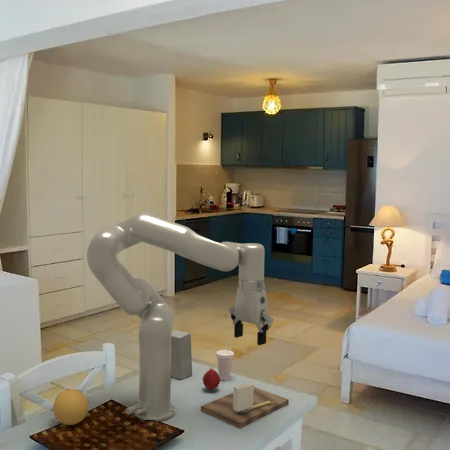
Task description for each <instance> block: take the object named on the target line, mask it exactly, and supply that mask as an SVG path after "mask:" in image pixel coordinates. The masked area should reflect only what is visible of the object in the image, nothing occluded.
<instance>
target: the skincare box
mask: <svg viewBox="0 0 450 450" xmlns="http://www.w3.org/2000/svg"><path fill="white" fill-rule="evenodd" d="M192 361H193V358H192V333H191V332H187V331H182V330H181V331H180V330H177V329H174V330H173V329H172V333H171V378H174V379H178V380H183V379H185V378H187V377H190V376H193V363H192Z"/></svg>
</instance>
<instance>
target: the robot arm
mask: <svg viewBox="0 0 450 450" xmlns="http://www.w3.org/2000/svg"><path fill="white" fill-rule="evenodd" d="M140 243H144V244H147V245H151V246H153V247H156V248H158V249H162V250H165V251H169V252H171V253H174V254H175V255H179V256H180V257H183V258H186V259H188V260H190V261H193V262H195V263H197V264H200V265H203V266H206V267H209V268H212V269H215V270H218V271H221V272H230V271H232V270H234V269H236V267H238V287H237V289H236V294H235V302H234V303H235V304H234V305H233V306H232V307H231V306H230V308H228V310H229V313H230V317H231V320H232V324H233V326H234V327H233V330H234V332H233V335H234V337H233V338H237V339H238V338H241V337H243V336H244V324H243V322H244V323H248V324H251V325H255V326H256V328H257V330H258V331H257V337H256V338H257V339H256V340H257V341H256V342H257V344H256V345H257V346H263V345H265V344H267V332H268V331H269V329H271V327H272V324H273V322H274V318H273V317H272V316H271V315H269V307H268V297H267V292H266V290H265V288H266V284H265V282H264V281H265V280H264V279H265V253H266V252H265V247H264V245H262V244H261V243H257V242H256V243H255V242H253V243H252V242H251V243H249V242H248V243H239V242H232V241H222V242H217V241H214V240H212V239H209V238H206V237H204V236H202V235H200V234H198V233H196V232H195V231H194V230H192V229H191V228H190V227H187V226H185V225H182V224H180V223H177V222H173V221H170V220H167V219H165V218H162V217H159V216H158V215H156V213H154V212H152V211H149V210H148V211H147V210H146V211H140V212H139V213H137V214H135V215H133V216H131V217H129V218H127V219H125V220H124V219H123V220H122V221H120V222H117V223H114V224H113V225H112V224H111V225H110V226H107V227H106V228H103V229H101V230H99V231H98V232H96V234H95V235H93V237H92V239H91V240H90V241H89V244H88V247H87V252H86V261H87V265H88V267H89V269H90V271H91V273H92V274H93V276H94V277H95V278H96V280H97V281H98V282H99V283H100V285H102V287H103V288H104V290H105V291H106V292H107V293H108V295H110V297H111V298H112V299H113V300H114V302H115V303H116V304H117V305H118V306H119V308H120V309H121V310H122V311H123V312H124V313H125V314H127V315H130V316H137V317H139V319H140V323H139V326H138V327H139V328H138V343H139V366H138V367H139V370H138V371H139V373H138V374H139V381H138V382H139V383H138V385H139V387H138V399H136V400H135V404H134V405H132V406H129V407H126V408H125V413H126V414H127V415H134V414H135V415H134V416H135V417H136V416H137V417H138V419H139V418H140V419H139V420H141V419H143V420H142V421H145V420H155V421H154V422H161V421H165V420H168V419H170V418H172V417H173V416H175V413H176V407H175V406H174V404H172V403H171V390H172V389H171V385H172V382H171V381H172V377H171V333H172V331H173V327H174V323H175V322H174V321H175V316H174V312H173V311H172V309H171V307H170V306H169V305H168V304H167V303H166V302H165V300H164V299H163V297H162V296H161V295H160V294H159V293H158V291H156V288H154V287H153V285H152V284H150V283H149V281H147V280H146V279H143V278H139V277H137V278H136V277H135V278H134V277H133V275H132V274H131V273H130V272H129V270H128V269H127V268H126V267H125V266H124V265H123V264H122V263H121V262H120V261H119V259H118V254H120V253H121V252H123V251H124V250H126V249H129V248H131V247H134V246H136V245H138V244H140ZM137 417H136V418H137Z"/></svg>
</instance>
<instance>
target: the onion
mask: <svg viewBox="0 0 450 450" xmlns="http://www.w3.org/2000/svg"><path fill="white" fill-rule="evenodd" d="M202 383H203V385H204V387H205V388H206V389H207V390H209V391H213V390H215V389H216V388H218V387H219V385H220V383H221V380H220V377H219V372H218V371H216V370H214V369H213V367H210V368H209V370H207V371H206V372H205V373H204V375H203V377H202Z"/></svg>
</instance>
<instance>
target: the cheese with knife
mask: <svg viewBox="0 0 450 450" xmlns="http://www.w3.org/2000/svg"><path fill="white" fill-rule="evenodd" d="M254 387H255V385H254V384H253V383H251V382H246V383H243V384H239V385H235V386H233V393H234V396H233V409H234V410H235V411H237V412H238V413H240V414H247V413H248V410H250V409H253V408H256V407H259V406H262V405H266V404H269V403H271V402H270V401H267V402H264V403H261V404H258V405H254V406H253V393H254Z"/></svg>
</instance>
